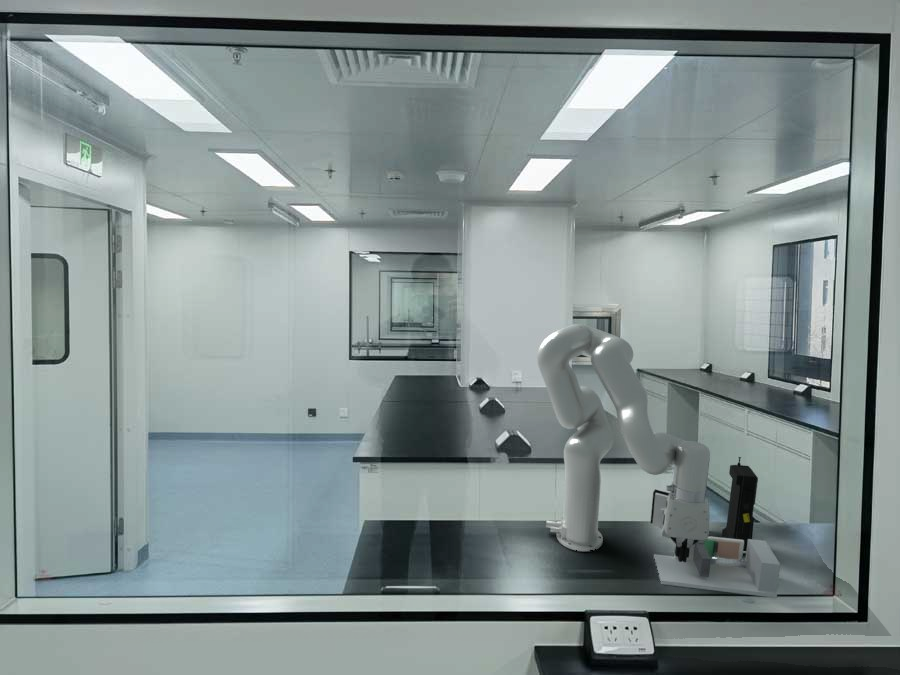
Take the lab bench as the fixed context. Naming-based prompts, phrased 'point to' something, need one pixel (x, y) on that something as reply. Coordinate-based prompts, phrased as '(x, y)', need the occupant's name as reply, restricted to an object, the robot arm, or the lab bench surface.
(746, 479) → the portable radio
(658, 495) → the hinge
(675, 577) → the stand
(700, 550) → the plunger
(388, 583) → the lab bench surface
